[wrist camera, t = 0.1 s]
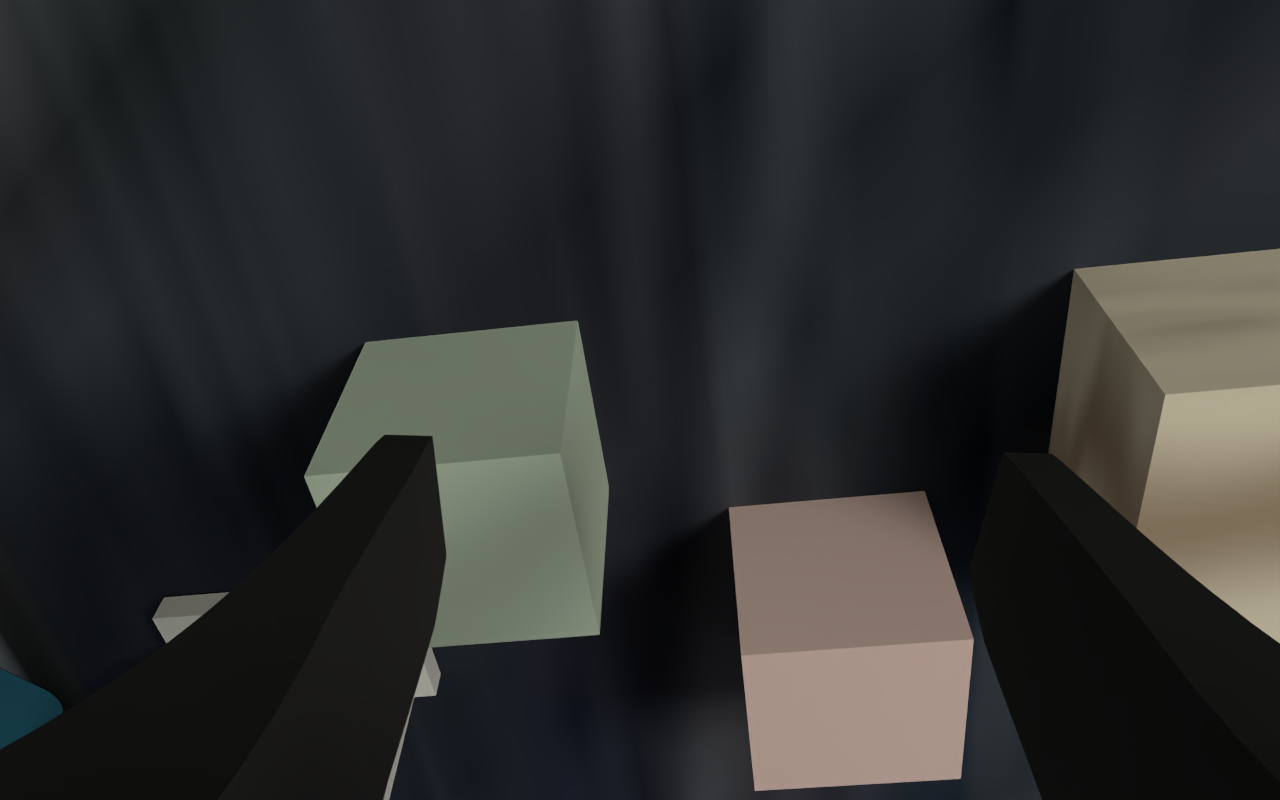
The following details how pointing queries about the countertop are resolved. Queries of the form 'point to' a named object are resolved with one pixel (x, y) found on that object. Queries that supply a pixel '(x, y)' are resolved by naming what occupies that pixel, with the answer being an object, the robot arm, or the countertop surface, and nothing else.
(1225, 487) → the base block
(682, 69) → the countertop surface
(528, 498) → the sage cube
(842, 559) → the pink cube
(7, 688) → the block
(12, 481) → the countertop surface
